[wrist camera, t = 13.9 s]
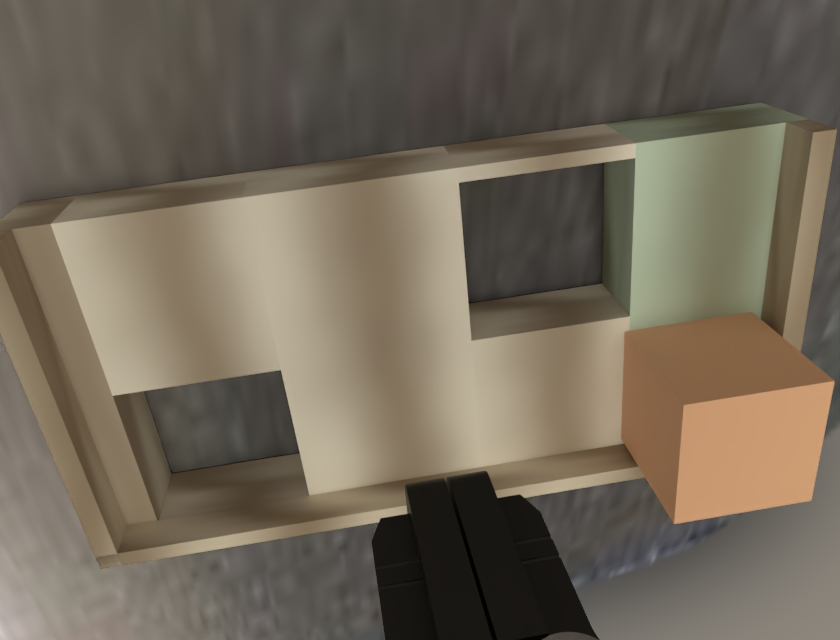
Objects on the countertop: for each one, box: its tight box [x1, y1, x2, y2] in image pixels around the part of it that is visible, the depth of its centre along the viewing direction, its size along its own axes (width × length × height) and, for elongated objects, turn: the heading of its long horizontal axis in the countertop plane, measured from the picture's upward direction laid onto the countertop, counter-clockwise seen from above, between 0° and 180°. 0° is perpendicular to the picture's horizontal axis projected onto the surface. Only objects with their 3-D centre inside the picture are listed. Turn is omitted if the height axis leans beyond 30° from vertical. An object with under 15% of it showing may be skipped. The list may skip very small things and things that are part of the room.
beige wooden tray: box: [0, 103, 837, 569], centre depth 27 cm, size 27×13×4 cm, turn 96°
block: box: [621, 312, 835, 524], centre depth 26 cm, size 5×5×5 cm
